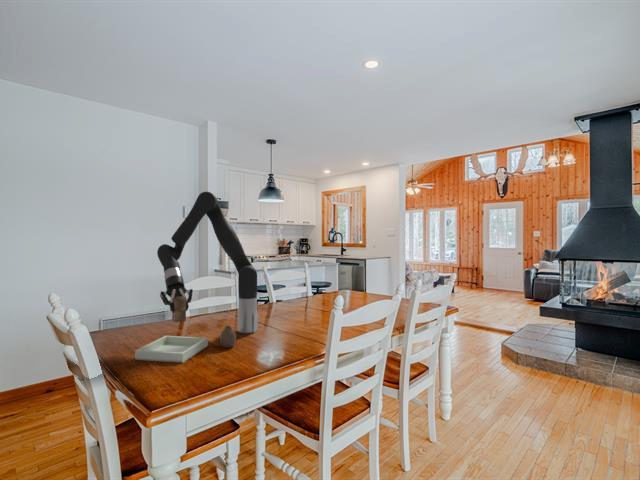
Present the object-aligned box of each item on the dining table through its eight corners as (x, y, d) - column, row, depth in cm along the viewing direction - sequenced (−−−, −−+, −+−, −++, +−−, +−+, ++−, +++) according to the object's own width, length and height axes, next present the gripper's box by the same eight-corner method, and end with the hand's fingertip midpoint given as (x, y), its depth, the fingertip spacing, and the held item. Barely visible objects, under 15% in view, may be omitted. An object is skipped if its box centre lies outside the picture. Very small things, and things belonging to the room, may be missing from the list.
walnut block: (183, 318, 148) (183, 295, 148) (185, 320, 145) (186, 297, 144) (172, 320, 146) (172, 296, 146) (174, 322, 142) (174, 298, 142)
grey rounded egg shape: (239, 344, 148) (239, 325, 148) (230, 349, 142) (230, 329, 142) (226, 343, 151) (226, 323, 151) (216, 347, 144) (216, 327, 144)
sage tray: (207, 345, 147) (207, 337, 146) (182, 362, 127) (182, 353, 127) (165, 343, 149) (165, 335, 149) (135, 359, 130) (135, 350, 130)
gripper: (158, 275, 147) (163, 307, 137) (191, 273, 155) (198, 304, 145) (156, 286, 151) (160, 317, 141) (188, 283, 159) (195, 313, 150)
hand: (180, 310), depth 143 cm, fingers closed on walnut block, 4 cm apart
